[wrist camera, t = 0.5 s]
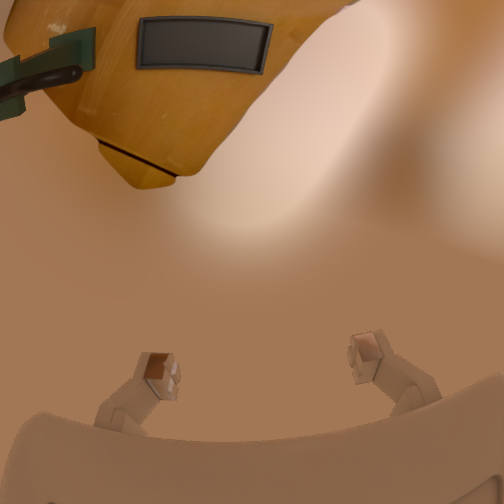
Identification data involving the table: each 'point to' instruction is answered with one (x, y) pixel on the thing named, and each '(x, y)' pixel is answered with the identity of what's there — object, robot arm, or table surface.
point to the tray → (203, 43)
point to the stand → (47, 64)
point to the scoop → (41, 81)
